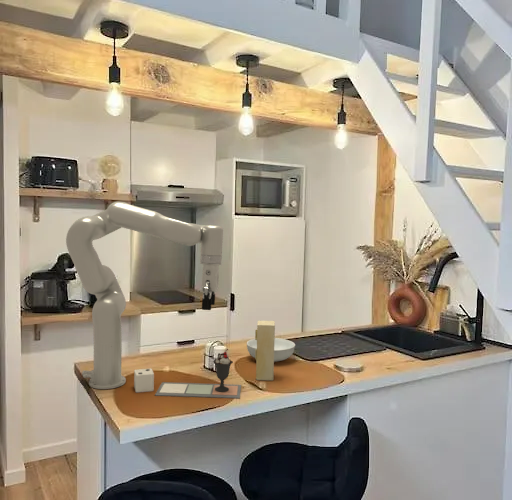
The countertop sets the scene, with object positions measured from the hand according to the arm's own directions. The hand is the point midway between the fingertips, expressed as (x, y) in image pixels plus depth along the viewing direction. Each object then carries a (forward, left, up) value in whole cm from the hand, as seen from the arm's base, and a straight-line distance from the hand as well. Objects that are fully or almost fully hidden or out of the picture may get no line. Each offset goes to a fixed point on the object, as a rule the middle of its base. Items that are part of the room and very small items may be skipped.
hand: (208, 307), depth 173 cm
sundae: (+6, -7, -28) cm, 29 cm away
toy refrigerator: (+21, +9, -28) cm, 36 cm away
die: (-21, -7, -28) cm, 36 cm away
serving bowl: (+24, +32, -28) cm, 49 cm away
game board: (-2, -7, -28) cm, 29 cm away
